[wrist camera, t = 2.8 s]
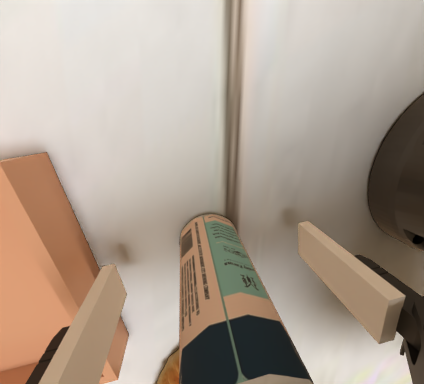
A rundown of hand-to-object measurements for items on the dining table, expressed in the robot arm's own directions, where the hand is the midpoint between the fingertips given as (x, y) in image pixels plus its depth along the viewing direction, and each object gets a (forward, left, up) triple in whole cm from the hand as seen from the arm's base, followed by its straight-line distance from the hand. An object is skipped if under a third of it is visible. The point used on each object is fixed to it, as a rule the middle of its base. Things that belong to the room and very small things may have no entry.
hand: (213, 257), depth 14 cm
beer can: (0, 0, -3) cm, 3 cm away
